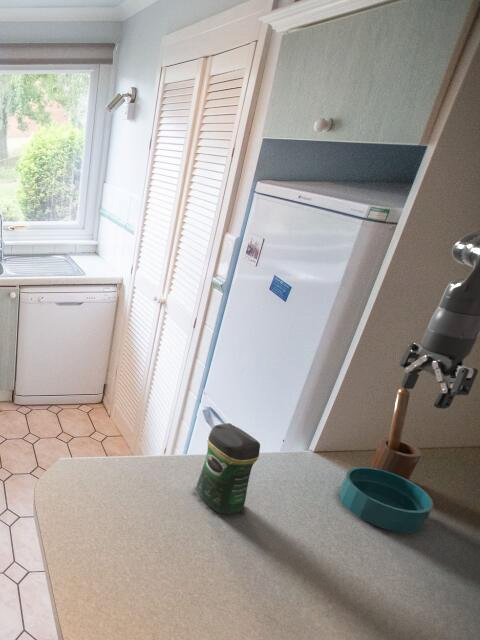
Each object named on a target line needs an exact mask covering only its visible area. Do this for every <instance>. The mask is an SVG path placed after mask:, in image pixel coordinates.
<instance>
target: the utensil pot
mask: <svg viewBox="0 0 480 640" xmlns="http://www.w3.org/2000/svg"><path fill="white" fill-rule="evenodd" d="M388 441H389V437H385V438H384V437H383V438H381V439H380V441H379V443H378V446H377V448H376V450H375V452H374V455H373V457H372V460H371V462H370V464H369V466H368V467H371V468H376V469H381V470H384V471H388V472H391V473H394V474H396V475H398V476H401V477H403V478H405V479H407V480H409V481H410V479H411V477H412V475H413V474H414V471H415V468H416V467H417V465H418V463H419V460H420V458H421V456H422V451H421V450H420V449H419V448H418V447H416V446H415V445H413V444H411V443H409V442H407V441H404V440H401V442H400V447H399V452H397V451H395V450H393V449H391V448H389V447H388Z"/></svg>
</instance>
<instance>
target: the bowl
mask: <svg viewBox="0 0 480 640" xmlns="http://www.w3.org/2000/svg"><path fill="white" fill-rule="evenodd" d="M338 497H339V499H340V501H341V503H342V504H343V505H344V506H345V507H346V508H347V509H348V510H349V512H351V513H353V514H354V515H356V516H357V517H358V518H360V519H362V520H364V521H366V522H368V523H369V524H371V525H373V526H376V527H379V528H382V529H385V530H388V531H392V532H397V533H408V534H412V533H415V532H420V531H421V530H422V528H423V527H424V525H426V522H427V520H428V519H429V516H430V514H431V512H432V510H433V508H434V500H433V499H432V498H431V496H430V495H429V494H428V492H426V491H425V490H424V489H423V488H422V487H420V486H419V485H417V484H416V483H414V482H412V481H411V480H410V479H409V480H407V479H405V478H403V477H401V476H398V475H396V474H394V473H391V472H388V471H384V470H381V469H376V468H371V467H369V466H355V467H352V468H350V469H348V470H347V471H346V473H345V476H344V478H343V480H342V482H341V486H340V488H339V491H338Z"/></svg>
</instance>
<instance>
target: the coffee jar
mask: <svg viewBox="0 0 480 640" xmlns="http://www.w3.org/2000/svg"><path fill="white" fill-rule="evenodd" d="M260 451H261V443H260V441H258V440H257V439H255V437H253V436H251V435H250V434H249V433H247V432H246V431H244V430H242V429H241V428H240V427H237V426H236V425H234V424H232V423H230V422H228V423H220V424H216V425H214V426H213V427H212V428H211V429H210V432H209V434H208V437H207V451H206V456H205V460H204V463H203V465H202V469H201V471H200V474H199V477H198V479H197V483H196V487H195V492H196V494H197V495H198V496H199V498H200V499H201V500H202V501H203V502H204V503H205V504H206V505H207V506H208V507H209V508H211V509H212V510H213V511H215V512H216V513H218V514H223V515H234V514H237V513H240V512H242V510H244V507H245V504H246V498H247V492H248V488H249V487H248V486H249V482H250V477H251V472H252V469H253V466H254V464H255V463H256V462H257V461H258V459H259V457H260Z"/></svg>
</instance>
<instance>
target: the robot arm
mask: <svg viewBox="0 0 480 640" xmlns="http://www.w3.org/2000/svg"><path fill="white" fill-rule="evenodd" d="M451 256H452V259H454V261H455V262H457V263H458V264H459V265H462V266H465V267H469V268H471V269H472V270H471V271H470V273H469V274H468V276H467V277H466V278H458V279H454V280H452V281H450V282H449V283H448V284H447V286H446V288H445V290H444V291H443V294H442V297H441V299H440V301H439V304H438V306H437V307H436V309H435V311H434V313H433V314H432V316H431V318H430V321H429V323H428V326H427V327H426V330H425V332H424V335H423V337H422V338H421V339H422V340H421V343H418V342H416V343H415V342H413V343H408V345H407V346H406V348H405V350H404V352H403V355H402V357H401V359H400V361H399V363H398V364H399V365H398V366H399V367H402V368H403V369H404V372H405V374H404V376H403V379H402V380H401V388H402V389H407V390H412V389H414V388H415V386H416V383H417V381H418V379H419V377H420V374H419V373H422V372H423V371H424V372H427V373H429V374H431V375H432V376H433V377H435V378H436V382H437V383H439V386H440V391H439V394H438V395H437V398H436V399H435V402H434V404H433V406H434V407H435V408H436V409H442V410H443V409H444V410H445V409H447V408H449V407H451V405H452V403H453V401H454V399H455V397H456V396H468V395H469V394H470V392H471V390H472V388H473V385H474V382H475V380H476V377H477V376H478V372H479V370H478V368H476V367H467V366H465V365H464V360H465V358H467V357H468V356H470V355H471V353H472V351H473V349H474V346H475V344H476V343H477V340H478V338H479V336H480V229H476V230H473V231H472V232H469V233H467V234H465V235H463V236H462V237H461V238H459V239H458V240H457V241H456V242H455V243H454V245H453V247H452V249H451ZM448 377H449V378H448ZM449 386H450V387H449Z"/></svg>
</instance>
